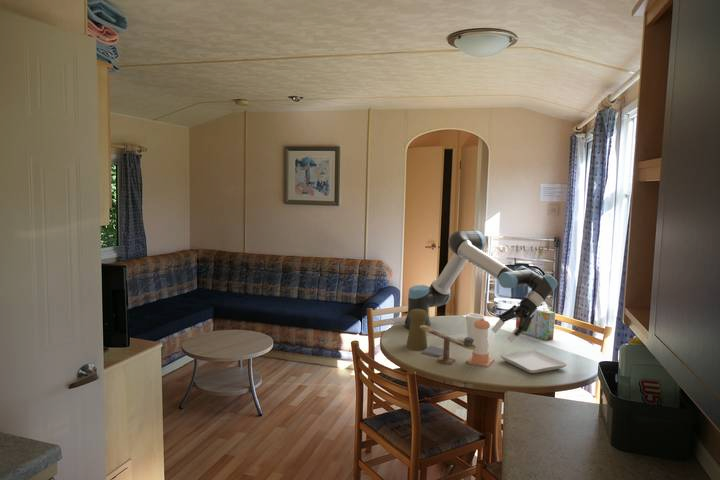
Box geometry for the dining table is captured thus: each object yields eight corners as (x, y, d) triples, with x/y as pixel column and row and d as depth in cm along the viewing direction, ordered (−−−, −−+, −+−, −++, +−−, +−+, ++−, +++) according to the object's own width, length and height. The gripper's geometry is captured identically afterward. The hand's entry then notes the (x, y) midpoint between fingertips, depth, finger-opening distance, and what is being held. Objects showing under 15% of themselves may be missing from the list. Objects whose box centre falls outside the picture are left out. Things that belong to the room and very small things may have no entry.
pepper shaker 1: (412, 342, 253) (414, 306, 251) (431, 346, 247) (432, 309, 245) (402, 347, 244) (403, 309, 242) (421, 352, 238) (422, 313, 236)
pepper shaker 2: (476, 363, 222) (479, 321, 220) (469, 357, 229) (471, 317, 227) (491, 361, 224) (493, 320, 222) (483, 356, 230) (485, 316, 229)
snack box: (553, 339, 265) (555, 312, 264) (547, 341, 262) (549, 313, 260) (521, 329, 282) (522, 304, 281) (514, 331, 279) (516, 305, 278)
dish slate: (421, 353, 236) (421, 351, 236) (430, 347, 245) (430, 346, 245) (441, 357, 231) (441, 355, 231) (449, 351, 239) (449, 349, 239)
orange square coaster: (465, 362, 225) (465, 360, 224) (473, 356, 233) (473, 354, 233) (487, 367, 219) (487, 365, 219) (494, 361, 228) (494, 359, 228)
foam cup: (481, 337, 265) (483, 314, 263) (484, 342, 255) (485, 318, 254) (464, 336, 266) (465, 313, 264) (466, 341, 256) (467, 317, 255)
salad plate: (530, 377, 210) (531, 369, 209) (498, 361, 229) (498, 354, 229) (568, 371, 218) (568, 363, 218) (533, 356, 237) (533, 349, 237)
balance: (416, 357, 230) (417, 326, 229) (422, 354, 235) (423, 324, 234) (471, 369, 216) (473, 337, 214) (476, 365, 221) (478, 334, 219)
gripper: (511, 291, 241) (482, 322, 239) (543, 303, 217) (511, 338, 215) (520, 301, 243) (491, 332, 241) (552, 314, 219) (521, 349, 217)
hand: (501, 335), depth 228 cm, fingers open, 13 cm apart
